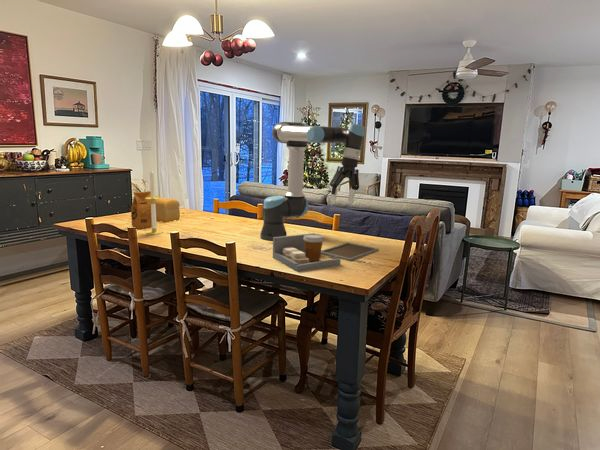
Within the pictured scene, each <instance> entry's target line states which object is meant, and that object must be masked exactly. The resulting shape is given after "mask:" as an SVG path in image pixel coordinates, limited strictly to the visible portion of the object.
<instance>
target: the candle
mask: <svg viewBox="0 0 600 450" xmlns="http://www.w3.org/2000/svg"><path fill="white" fill-rule="evenodd" d="M149 179H150V180H149V182H150V184H149V185H150V187H149V188H150V192H151V197H146V198H145V199H149V200H151V217H152V227H151V230H150V229H149V230H147V231H145V232H146V233H148V234H147V235H155V234H154V233H156V232H159V230H160V229H157V228H158V227H157V221H156V204H155V199H160V197H161V196H156V194H155V193H156V191H155V189H156V188H155V172H154V171H153V168H151V169H150V172H149ZM155 196H156V197H155ZM146 233H145V234H146Z"/></svg>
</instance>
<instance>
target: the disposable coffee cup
mask: <svg viewBox="0 0 600 450" xmlns="http://www.w3.org/2000/svg"><path fill="white" fill-rule="evenodd" d="M305 234H306V235H304V238H303V239H304V243H305V257H306V258H308V259H309V263H312V262H319V261H321V260H320V259H321V255H322V254H321V250H322V248H323V242H324V235H322V234H320V233H315V234H310V233H305Z"/></svg>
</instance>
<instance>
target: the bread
mask: <svg viewBox="0 0 600 450" xmlns="http://www.w3.org/2000/svg"><path fill="white" fill-rule="evenodd" d="M155 197H157V196H156V195H155ZM159 197H160V199H155V204H156V222H160V221H162V222H161V223H170V222H169V221H171V222H175V221H174V220H176V221H180V217H181V212H180V211H181V210H180V205H181V204H180V202H179V200H177V199H176V198H175V199H174V198H169V197H164V196H163V197H162V196H159Z"/></svg>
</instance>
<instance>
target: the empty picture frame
mask: <svg viewBox="0 0 600 450" xmlns="http://www.w3.org/2000/svg"><path fill="white" fill-rule="evenodd" d="M378 251H379V248H378V247H377V248H376V247H373V246H367V245H363V244H358V243H353V242H345V243H342V244H339V245H335V246H332V247H328V248H325V249H321V254H320V255H323V256H327V257H328V258H329V259H331V260H333V259H341V260H345V261H348V262H352V261H354V260H357V259H361V258H363V257H365V256H368V255H371V254H373V253H376V252H378Z"/></svg>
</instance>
